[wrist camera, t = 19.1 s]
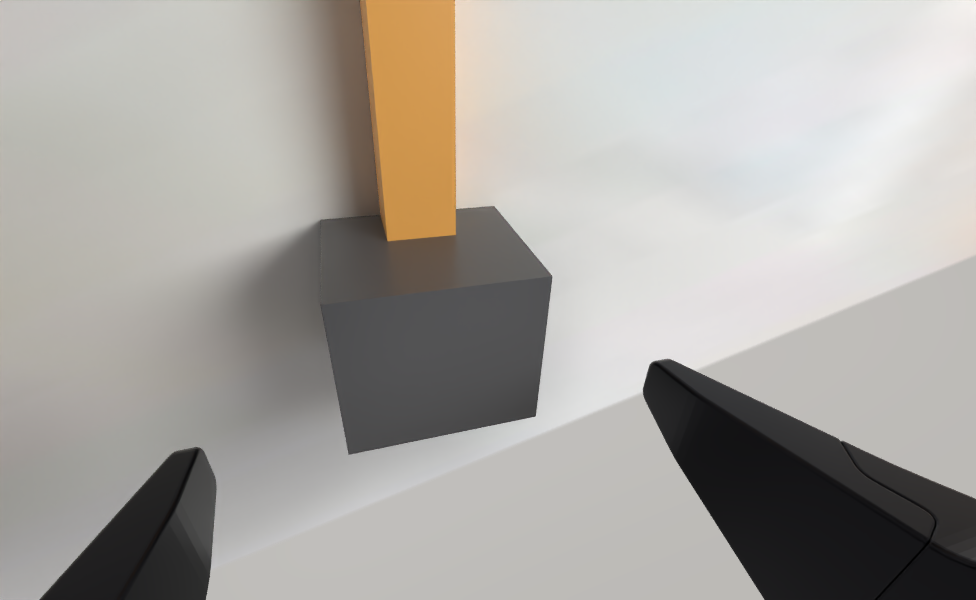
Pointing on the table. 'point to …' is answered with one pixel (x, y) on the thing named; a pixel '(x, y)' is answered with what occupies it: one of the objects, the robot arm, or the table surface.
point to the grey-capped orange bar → (426, 261)
